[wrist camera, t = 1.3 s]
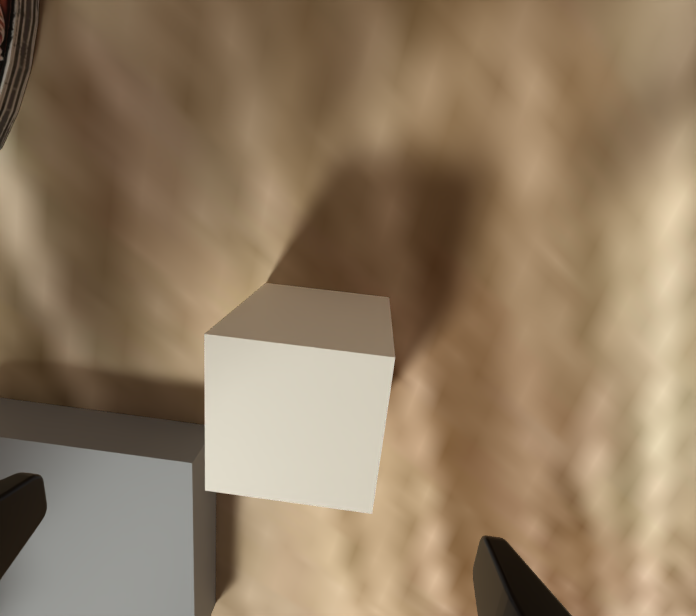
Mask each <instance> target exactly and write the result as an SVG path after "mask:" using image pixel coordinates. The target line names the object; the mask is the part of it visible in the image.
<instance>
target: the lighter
mask: <svg viewBox="0 0 696 616" xmlns="http://www.w3.org/2000/svg"><path fill="white" fill-rule="evenodd" d="M38 12H39V0H0V150H1V148H2V147H3V145H4V143H5V140H6V138H7V136H8V134H9V131H10V129H11V127H12V125H13V123H14V120H15V118H16V116H17V114H18V111H19V108H20V104H21V101H22V98H23V94H24V91H25V88H26V84H27V81H28V78H29V74H30V71H31V65H32V59H33V52H34V46H35V39H36V32H37V26H38Z"/></svg>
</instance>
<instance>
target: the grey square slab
mask: <svg viewBox="0 0 696 616" xmlns="http://www.w3.org/2000/svg"><path fill="white" fill-rule="evenodd" d="M20 472H25V473H33V474H39V475H41V476H42V478H43V480H44V486H45V493H46V500H47V511H46V514H45V516H44V518H43V520H42V522H41V523H40V524H39V526H38V527H37V529H36V530H35V532H34V533H33V534H32V536H31V537H30V539H29V540H28V542H27V543H26V544H25V546H24V547H23V549H22V550H21V552H20V553H19V554H18V556H17V557H16V559H15V560H14V561H13V563H12V564H11V566H10V567H9V569H8V570H7V571H6V573H5V574H4V576H3V577H2V579H1V580H0V616H211V613H212V611H213V608H214V606H215V603H216V492H212V491H205V425H202V424H194V423H187V422H179V421H172V420H164V419H157V418H149V417H142V416H134V415H127V414H119V413H112V412H104V411H97V410H89V409H82V408H74V407H66V406H59V405H51V404H44V403H36V402H29V401H21V400H14V399H6V398H0V480H1V479H4V478H6V477H8V476H11V475H13V474H16V473H20Z"/></svg>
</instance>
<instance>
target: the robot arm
mask: <svg viewBox="0 0 696 616" xmlns="http://www.w3.org/2000/svg"><path fill="white" fill-rule="evenodd" d="M46 511H47V500H46V493H45V486H44V480H43V478H42V476H41V475H39V474H33V473H25V472H20V473H16V474H13V475H11V476H8V477H6V478H4V479H1V480H0V580H1V579H2V577H3V576H4V574H5V573H6V571H7V570H8V569H9V567H10V566H11V564H12V563H13V561H14V560H15V559H16V557H17V556H18V554H19V553H20V552H21V550H22V549H23V547H24V546H25V544H26V543H27V542H28V540H29V539H30V537H31V536H32V534H33V533H34V532H35V530H36V529H37V527H38V526H39V524H40V523H41V522H42V520H43V518H44V516H45V514H46ZM473 583H474V590H475V598H476V605H477V612H478V616H572V615H571V614H570V613H569V612H568V611H567V610H566V608H565V607H564V606H563V605H562V604H561V603H560V602H559V600H558V599H557V598H556V597H555V596H554V595H553V594H552V593H551V591H550V590H549V589H548V588H547V587H546V586H545V585H544V583H543V582H542V581H541V580H540V579H539V578H538V577H537V575H536V574H535V573H534V572H533V571H532V570H531V569H530V567H529V566H528V565H527V564H526V563H525V562H524V561H523V560H522V558H521V557H520V556H519V555H518V554H517V553H516V552H515V550H514V549H513V548H512V547H511V546H510V545H509V544H508V542H507V541H506V540H504V539H503V538H500V537H492V536H483V537H482V538H481V539H480V542H479V546H478V550H477V554H476V558H475V562H474V566H473Z"/></svg>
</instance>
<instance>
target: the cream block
mask: <svg viewBox="0 0 696 616" xmlns="http://www.w3.org/2000/svg"><path fill="white" fill-rule="evenodd" d="M204 363H205V491H212V492H219V493H226V494H233V495H241V496H248V497H255V498H262V499H269V500H276V501H284V502H291V503H298V504H305V505H312V506H319V507H327V508H334V509H341V510H348V511H355V512H362V513H370V514H372V511H373V504H374V497H375V491H376V484H377V477H378V471H379V464H380V457H381V450H382V444H383V437H384V430H385V423H386V417H387V410H388V403H389V396H390V390H391V383H392V376H393V370H394V363H395V350H394V340H393V330H392V320H391V310H390V300H389V297H383V296H374V295H366V294H357V293H349V292H340V291H332V290H323V289H314V288H306V287H297V286H289V285H280V284H272V283H265V284H264V285H263V286H261V287H260V288H259V289H258V290H257V291H255V292H254V293H253V294H252V295H251V296H249V297H248V298H247V299H246V300H245V301H243V302H242V303H241V304H240V305H239V306H237V307H236V308H235V309H234V310H233V311H231V312H230V313H229V314H228V315H227V316H225V317H224V318H223V319H222V320H221V321H219V322H218V323H217V324H216V325H215V326H213V327H212V328H211V329H210V330H209V331H207V332H206V333H205V334H204Z"/></svg>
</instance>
